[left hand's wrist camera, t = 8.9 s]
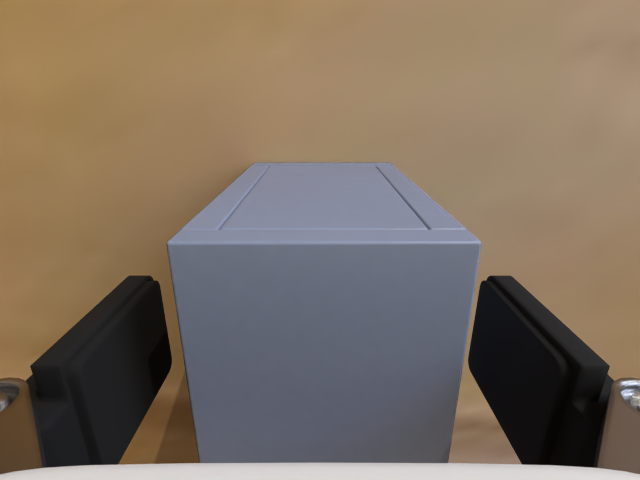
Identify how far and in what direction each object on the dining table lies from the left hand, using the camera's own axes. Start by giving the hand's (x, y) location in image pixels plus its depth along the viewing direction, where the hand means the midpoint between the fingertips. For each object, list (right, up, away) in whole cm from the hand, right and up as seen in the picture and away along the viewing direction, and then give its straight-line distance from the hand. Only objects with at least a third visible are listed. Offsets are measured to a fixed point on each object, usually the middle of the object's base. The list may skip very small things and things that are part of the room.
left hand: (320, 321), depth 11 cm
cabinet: (0, -3, +9) cm, 10 cm away
